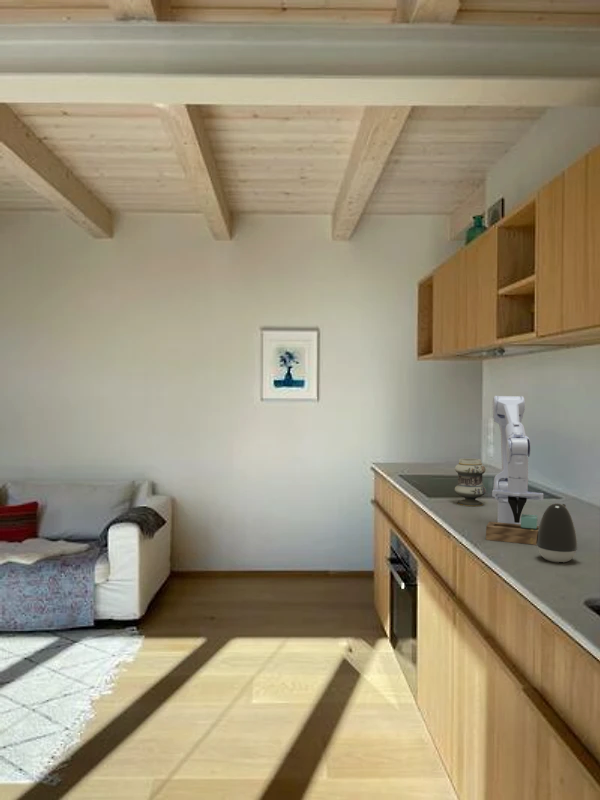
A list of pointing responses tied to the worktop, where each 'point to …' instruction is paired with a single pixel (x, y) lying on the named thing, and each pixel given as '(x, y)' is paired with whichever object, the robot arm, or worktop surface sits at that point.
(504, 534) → the slotted wooden block
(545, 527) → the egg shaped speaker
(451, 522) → the worktop surface
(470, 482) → the apothecary jar
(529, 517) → the block
